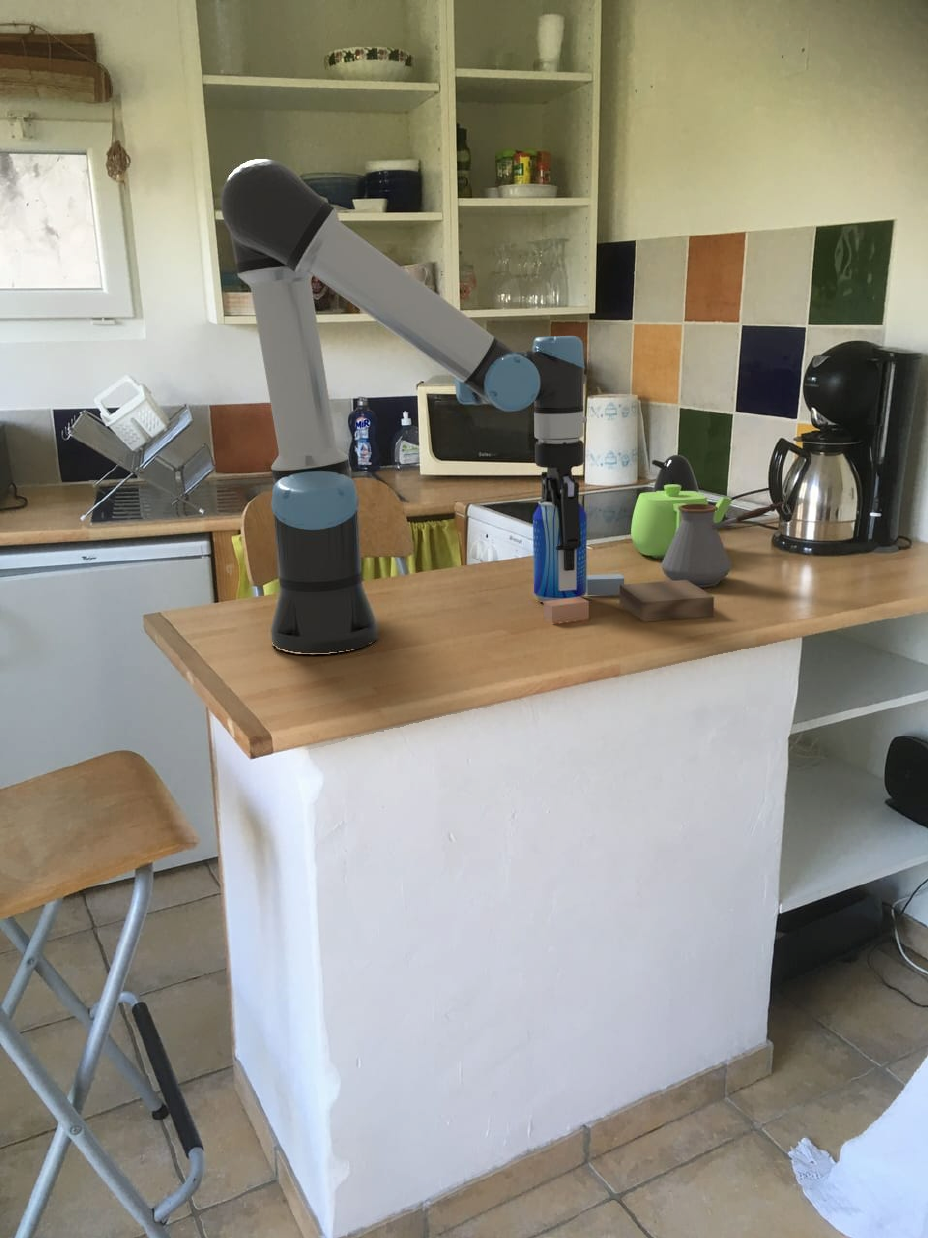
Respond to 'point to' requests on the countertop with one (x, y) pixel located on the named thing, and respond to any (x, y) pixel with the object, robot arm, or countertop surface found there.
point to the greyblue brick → (604, 584)
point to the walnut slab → (666, 600)
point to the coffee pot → (702, 545)
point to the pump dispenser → (675, 474)
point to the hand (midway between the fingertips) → (560, 582)
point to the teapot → (665, 517)
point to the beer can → (555, 554)
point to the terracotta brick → (566, 610)
